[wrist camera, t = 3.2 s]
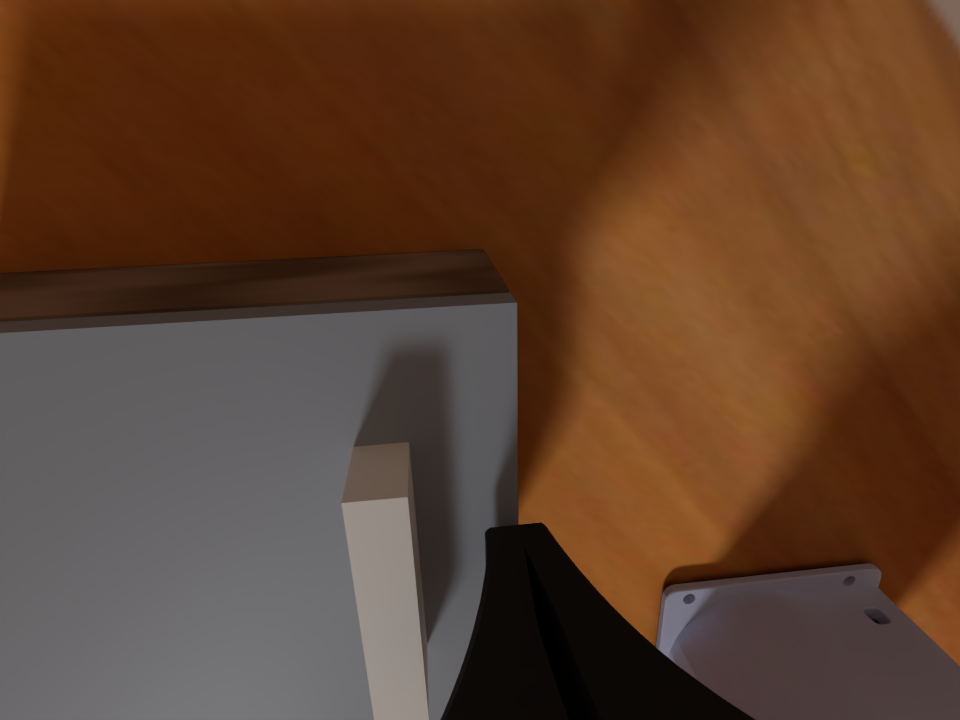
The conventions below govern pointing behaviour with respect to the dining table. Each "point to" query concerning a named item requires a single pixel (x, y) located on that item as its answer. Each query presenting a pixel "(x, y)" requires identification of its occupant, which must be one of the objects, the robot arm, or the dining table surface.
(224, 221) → the dining table surface
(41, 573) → the lid
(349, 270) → the box
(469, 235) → the dining table surface
